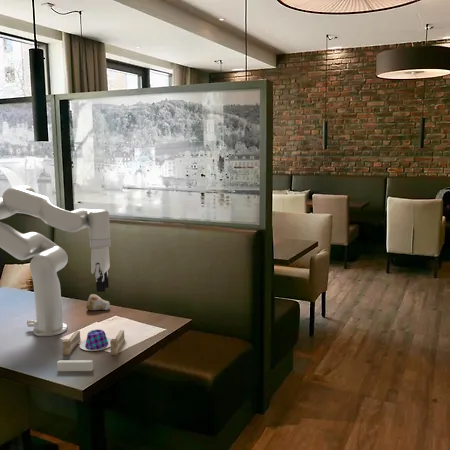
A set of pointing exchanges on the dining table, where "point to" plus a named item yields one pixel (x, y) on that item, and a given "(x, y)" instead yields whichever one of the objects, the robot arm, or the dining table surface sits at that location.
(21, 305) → the dining table surface
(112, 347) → the pair of beige bars
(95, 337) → the pudding
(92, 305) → the white patterned lump
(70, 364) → the bar
